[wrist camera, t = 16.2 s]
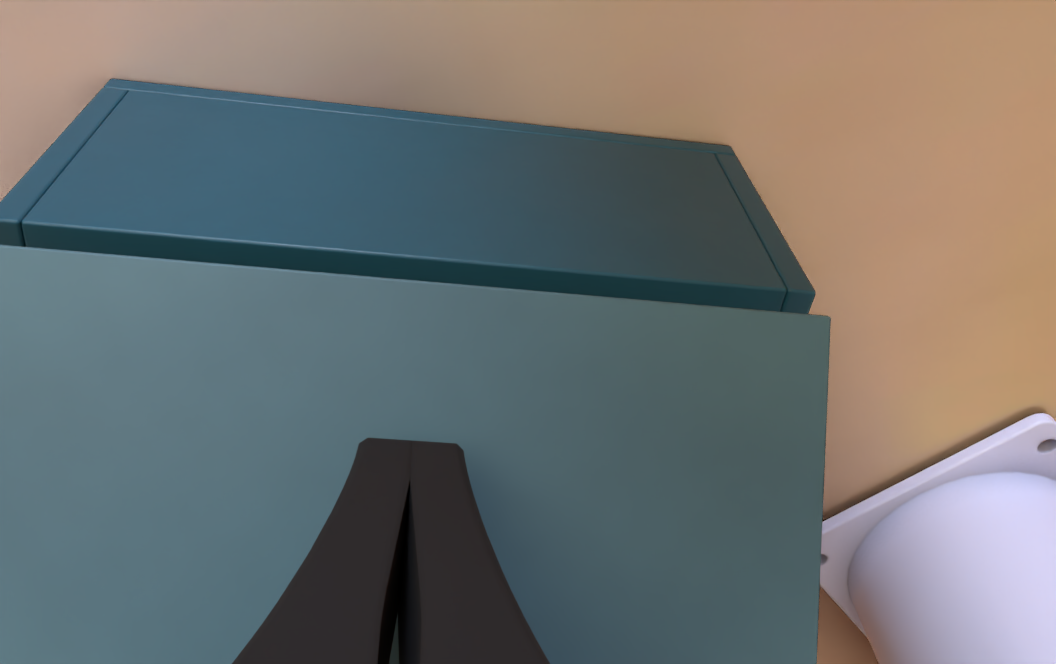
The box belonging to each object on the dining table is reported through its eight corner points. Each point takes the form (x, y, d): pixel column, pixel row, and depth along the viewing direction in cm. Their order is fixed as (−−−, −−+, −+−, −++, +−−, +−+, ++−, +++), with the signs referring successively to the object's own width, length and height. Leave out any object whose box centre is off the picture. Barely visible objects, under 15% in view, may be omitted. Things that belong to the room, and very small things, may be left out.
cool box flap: (-26, 245, 13) (-39, 240, 13) (820, 317, 15) (831, 315, 15) (-85, 733, 13) (-100, 743, 12) (802, 754, 14) (813, 763, 14)
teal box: (110, 77, 19) (-41, 244, 13) (731, 145, 20) (834, 320, 15) (167, 552, 26) (88, 783, 21) (611, 573, 28) (648, 792, 22)
